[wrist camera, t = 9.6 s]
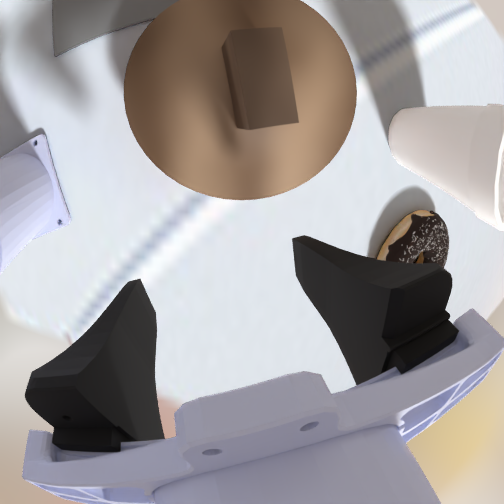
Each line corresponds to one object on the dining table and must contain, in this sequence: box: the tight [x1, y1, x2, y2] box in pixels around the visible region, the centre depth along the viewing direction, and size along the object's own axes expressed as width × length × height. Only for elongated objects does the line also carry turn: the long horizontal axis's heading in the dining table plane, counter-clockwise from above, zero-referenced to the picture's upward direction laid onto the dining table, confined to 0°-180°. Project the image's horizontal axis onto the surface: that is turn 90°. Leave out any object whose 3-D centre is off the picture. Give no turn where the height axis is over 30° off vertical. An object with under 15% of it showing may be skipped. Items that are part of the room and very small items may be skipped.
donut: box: [377, 210, 449, 268], centre depth 28 cm, size 11×12×4 cm
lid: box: [124, 0, 357, 200], centre depth 12 cm, size 14×14×4 cm
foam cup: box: [388, 104, 504, 232], centre depth 17 cm, size 10×9×13 cm
